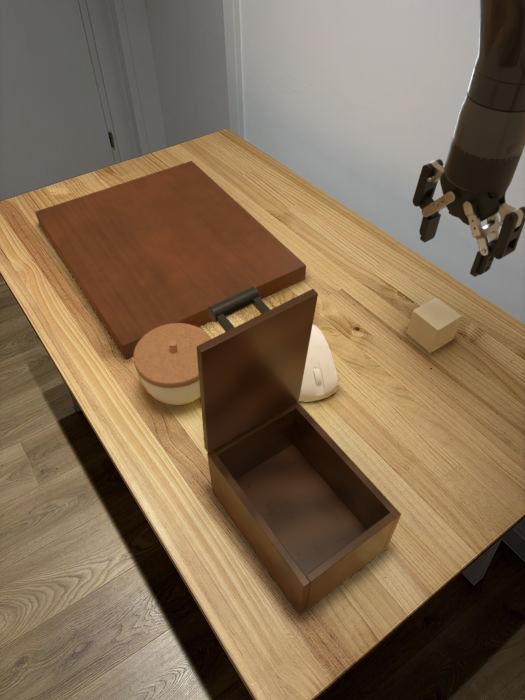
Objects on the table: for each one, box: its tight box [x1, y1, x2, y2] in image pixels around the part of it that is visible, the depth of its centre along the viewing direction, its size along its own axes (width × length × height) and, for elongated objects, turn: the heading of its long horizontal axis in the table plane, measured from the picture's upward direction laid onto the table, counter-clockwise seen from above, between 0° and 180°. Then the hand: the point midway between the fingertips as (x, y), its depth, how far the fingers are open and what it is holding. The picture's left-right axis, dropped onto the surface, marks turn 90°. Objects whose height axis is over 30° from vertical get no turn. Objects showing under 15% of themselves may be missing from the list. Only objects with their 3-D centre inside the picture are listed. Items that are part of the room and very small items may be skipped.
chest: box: [206, 401, 402, 616], centre depth 62 cm, size 18×13×9 cm
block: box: [406, 297, 462, 354], centre depth 83 cm, size 5×5×5 cm
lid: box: [196, 286, 319, 453], centre depth 57 cm, size 18×13×5 cm
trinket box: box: [132, 323, 212, 406], centre depth 75 cm, size 11×11×9 cm
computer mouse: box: [298, 324, 339, 403], centre depth 78 cm, size 6×13×6 cm, turn 16°
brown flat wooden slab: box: [34, 160, 307, 360], centre depth 98 cm, size 40×3×33 cm
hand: (451, 255), depth 72 cm, fingers open, 8 cm apart
